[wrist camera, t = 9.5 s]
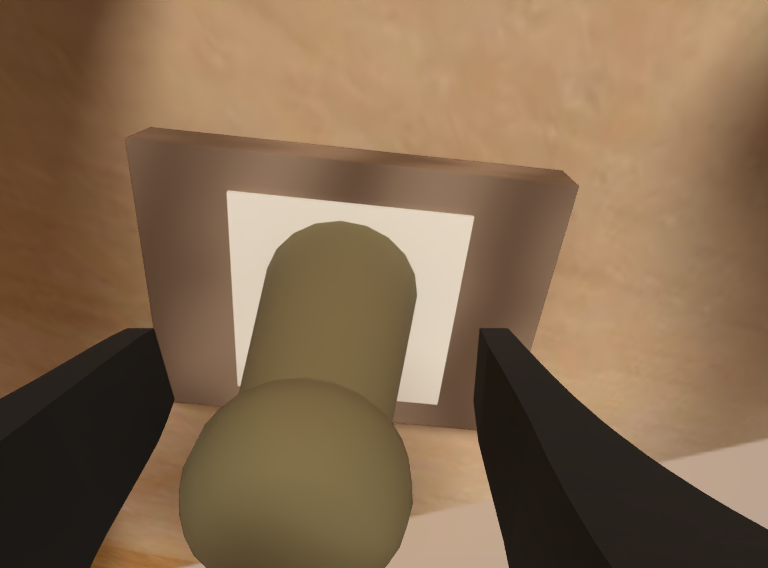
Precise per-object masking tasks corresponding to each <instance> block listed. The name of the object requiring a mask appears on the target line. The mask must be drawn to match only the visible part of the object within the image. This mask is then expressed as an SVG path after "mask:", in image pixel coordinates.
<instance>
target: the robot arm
mask: <svg viewBox="0 0 768 568" xmlns="http://www.w3.org/2000/svg"><path fill="white" fill-rule="evenodd" d="M174 400H175V398H174V395H173V392H172V388H171V385H170V381H169V378H168V374H167V371H166V367H165V364H164V361H163V357H162V354H161V350H160V347H159V343H158V340H157V337H156V333H155V330H154V328H127V329H125V330H123V331H121V332H119V333H117V334H115V335H113V336H111V337H109V338H107V339H105V340H103V341H102V342H100V343H98V344H96V345H94V346H93V347H91V348H89V349H87V350H86V351H84V352H82V353H81V354H79V355H77V356H75V357H74V358H72V359H70V360H69V361H67V362H65V363H63V364H62V365H60V366H58V367H56V368H55V369H53V370H51V371H50V372H48V373H46V374H44V375H43V376H41V377H39V378H37V379H36V380H34V381H32V382H30V383H29V384H27V385H25V386H23V387H21V388H19V389H18V390H16V391H14V392H12V393H10V394H8V395H6V396H5V397H3V398H1V399H0V568H90V567H91V564H92V562H93V560H94V558H95V556H96V554H97V552H98V550H99V548H100V546H101V544H102V542H103V540H104V538H105V536H106V534H107V532H108V531H109V529H110V527H111V525H112V524H113V522H114V520H115V518H116V516H117V515H118V513H119V511H120V509H121V508H122V506H123V504H124V502H125V501H126V499H127V497H128V495H129V493H130V492H131V490H132V488H133V486H134V485H135V483H136V481H137V479H138V478H139V476H140V474H141V472H142V470H143V469H144V467H145V465H146V463H147V461H148V460H149V458H150V456H151V454H152V452H153V450H154V449H155V447H156V445H157V443H158V441H159V439H160V437H161V434H162V432H163V429H164V427H165V424H166V422H167V419H168V417H169V414H170V411H171V408H172V406H173V403H174ZM473 403H474V411H475V419H476V427H477V434H478V442H479V446H480V450H481V454H482V458H483V462H484V466H485V470H486V474H487V478H488V482H489V486H490V490H491V494H492V498H493V501H494V505H495V509H496V513H497V517H498V521H499V525H500V529H501V533H502V537H503V541H504V545H505V550H506V555H507V560H508V565H509V568H768V529H766V528H764V527H762V526H760V525H759V524H757V523H755V522H753V521H752V520H750V519H748V518H746V517H744V516H743V515H741V514H739V513H737V512H736V511H734V510H732V509H730V508H729V507H727V506H725V505H723V504H722V503H720V502H719V501H717V500H715V499H714V498H712V497H710V496H708V495H707V494H705V493H704V492H702V491H700V490H699V489H697V488H695V487H694V486H693V485H691V484H689V483H688V482H686V481H685V480H683V479H682V478H680V477H678V476H677V475H675V474H674V473H672V472H671V471H669V470H668V469H666V468H665V467H663V466H662V465H660V464H659V463H658V462H656V461H655V460H653V459H652V458H650V457H649V456H647V455H646V454H645V453H643V452H642V451H641V450H639V449H638V448H637V447H635V446H634V445H633V444H631V443H630V442H629V441H627V440H626V439H625V438H623V437H622V436H621V435H619V434H618V433H617V432H615V431H614V430H613V429H612V428H610V427H609V426H608V425H607V424H605V423H604V422H603V421H602V420H600V419H599V418H598V417H597V416H596V415H595V414H594V413H592V412H591V411H590V410H589V409H588V408H587V407H586V406H584V405H583V404H582V403H581V402H580V401H579V400H578V399H576V398H575V397H574V396H573V395H572V394H571V393H570V392H569V391H568V390H567V389H566V388H565V387H564V386H563V385H562V384H561V383H560V382H559V381H558V380H557V379H556V378H555V377H554V376H553V375H552V374H551V373H550V372H549V371H548V370H547V369H546V368H545V367H544V366H543V365H542V364H541V363H540V362H539V361H538V360H537V359H536V358H535V357H534V356H533V354H532V353H531V352H530V351H529V350H528V349H527V348H526V347H525V346H524V345H523V344H522V343H521V341H520V340H519V339H518V338H517V337H516V336H515V335H514V334H513V333H512V332H511V331H510V330H509V329H508V328H479V340H478V351H477V363H476V374H475V386H474V397H473Z"/></svg>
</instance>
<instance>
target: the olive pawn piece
mask: <svg viewBox="0 0 768 568" xmlns="http://www.w3.org/2000/svg"><path fill="white" fill-rule="evenodd" d="M416 299H417V289H416V280H415V274H414V272H413V269H412V267H411V265H410V263H409V261H408V259H407V257H406V255H405V254H404V253H403V252H402V251H401V250H400V249H399V248H398V247H397V246H396V245H395V244H394V243H393V242H392V241H391V240H390V239H389V238H388V237H387V236H385V235H383V234H381V233H379V232H377V231H375V230H373V229H371V228H370V227H368V226H365V225H360V224H355V223H350V222H345V221H334V222H324V223H315V224H313V225H311V226H309V227H306V228H304V229H302V230H299V231H297V232H295V233H293V234H292V235H291V236H290V237H289V238H288V239H287V240H286V241H284V242H283V243H282V244H281V245H280V246H279V247H278V248H277V249H276V251H275V253H274V255H273V257H272V259H271V261H270V263H269V265H268V267H267V271H266V275H265V280H264V284H263V289H262V293H261V297H260V302H259V306H258V311H257V315H256V319H255V324H254V328H253V332H252V337H251V341H250V346H249V350H248V354H247V359H246V363H245V368H244V372H243V376H242V381H241V385H240V389H239V394H238V395H236V396H235V397H234V398H233V399H232V400H230V401H229V402H228V403H227V404H225V405H224V406H223V407H222V408H221V409H219V410H218V412H217V413H216V414H215V415H214V416H213V417H212V418H211V419H210V420H209V421H208V422H207V423H206V424H205V426H204V428H203V430H202V432H201V434H200V436H199V438H198V439H197V441H196V443H195V445H194V447H193V449H192V451H191V453H190V455H189V457H188V459H187V461H186V463H185V465H184V467H183V471H182V477H181V483H180V489H179V515H180V520H181V525H182V529H183V534H184V537H185V539H186V541H187V543H188V545H189V547H190V549H191V551H192V553H193V555H194V556H195V557H196V558H197V559H198V560H199V561H200V562H201V563H202V564H203V565H204V566H205V567H206V568H385V567H386V566H387V565H388V563H389V562H390V560H391V559H392V557H393V556H394V555H395V553H396V552H397V550H398V549H399V547H400V545H401V542H402V539H403V536H404V533H405V530H406V527H407V524H408V520H409V516H410V512H411V508H412V504H413V500H412V481H411V474H410V466H409V459H408V455H407V452H406V449H405V447H404V444H403V441H402V438H401V437H400V435H399V433H398V432H397V430H396V429H395V427H394V425H393V424H392V422H393V417H394V412H395V407H396V402H397V397H398V391H399V386H400V381H401V376H402V371H403V366H404V361H405V356H406V350H407V345H408V340H409V335H410V330H411V325H412V320H413V314H414V309H415V304H416Z"/></svg>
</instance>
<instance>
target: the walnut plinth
mask: <svg viewBox="0 0 768 568" xmlns="http://www.w3.org/2000/svg"><path fill="white" fill-rule="evenodd" d="M125 143H126V149H127V156H128V162H129V169H130V176H131V182H132V189H133V195H134V202H135V209H136V215H137V222H138V229H139V235H140V242H141V248H142V255H143V262H144V268H145V275H146V281H147V288H148V295H149V301H150V308H151V314H152V321H153V328H154V330H155V333H156V337H157V340H158V343H159V347H160V350H161V354H162V357H163V361H164V364H165V367H166V371H167V374H168V378H169V381H170V385H171V388H172V392H173V395H174V398H175V400H174V402H177V403H188V404H199V405H209V406H220V407H223V406H224V405H225V404H227V403H228V402H229V401H230V400H232V399H233V398H234V397H235V396H236V395H238V394H239V389H240V385H241V381H242V376H243V372H244V368H245V363H246V359H247V354H248V350H249V346H250V341H251V337H252V332H253V328H254V324H255V319H256V315H257V311H258V306H259V302H260V297H261V293H262V289H263V284H264V280H265V275H266V271H267V267H268V265H269V263H270V261H271V259H272V257H273V255H274V253H275V251H276V249H277V248H278V247H279V246H280V245H281V244H282V243H283V242H284V241H286V240H287V239H288V238H289V237H290V236H291V235H292V234H293V233H295V232H297V231H299V230H302V229H304V228H306V227H309V226H311V225H313V224H315V223H324V222H334V221H345V222H350V223H355V224H360V225H365V226H368V227H370V228H371V229H373V230H375V231H377V232H379V233H381V234H383V235H385V236H387V237H388V238H389V239H390V240H391V241H392V242H393V243H394V244H395V245H396V246H397V247H398V248H399V249H400V250H401V251H402V252H403V253H404V254H405V255H406V257H407V259H408V261H409V263H410V265H411V267H412V269H413V272H414V274H415V280H416V289H417V299H416V304H415V309H414V314H413V320H412V325H411V330H410V335H409V340H408V345H407V350H406V356H405V361H404V366H403V371H402V376H401V381H400V386H399V391H398V397H397V402H396V407H395V412H394V417H393V423H404V424H415V425H425V426H436V427H447V428H458V429H469V430H477V427H476V419H475V411H474V403H473V397H474V386H475V374H476V363H477V351H478V340H479V328H508V329H509V330H510V331H511V332H512V333H513V334H514V335H515V336H516V337H517V338H518V339H519V340H520V341H521V343H522V344H523V345H524V346H525V347H526V348H527V349H528V350H529V351H530V350H531V347H532V343H533V340H534V336H535V333H536V330H537V326H538V323H539V320H540V316H541V313H542V309H543V306H544V303H545V299H546V296H547V293H548V289H549V286H550V282H551V279H552V276H553V272H554V269H555V266H556V262H557V259H558V255H559V252H560V249H561V245H562V242H563V238H564V235H565V232H566V228H567V225H568V222H569V218H570V215H571V211H572V208H573V205H574V201H575V198H576V195H577V191H578V188H579V185H577V184H576V183H575V182H574V181H573V180H572V179H571V178H570V177H569V176H568V175H567V174H565V173H564V172H563V171H560V170H551V169H541V168H532V167H522V166H513V165H503V164H494V163H484V162H475V161H465V160H456V159H447V158H437V157H428V156H418V155H409V154H399V153H390V152H380V151H371V150H361V149H352V148H342V147H333V146H323V145H314V144H304V143H295V142H285V141H276V140H266V139H257V138H247V137H238V136H228V135H219V134H209V133H200V132H190V131H181V130H171V129H162V128H153V127H150V128H148V129H145V130H143V131H141V132H139V133H136V134H134V135H132V136H129V137H127V138H125Z"/></svg>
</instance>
